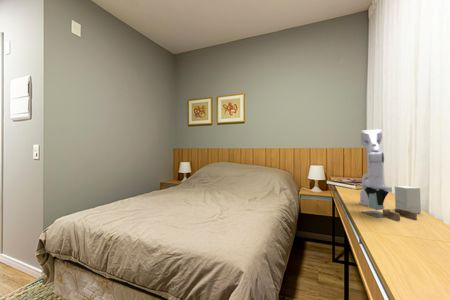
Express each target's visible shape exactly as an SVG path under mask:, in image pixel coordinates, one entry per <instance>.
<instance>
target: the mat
mask: <svg viewBox="0 0 450 300" xmlns="http://www.w3.org/2000/svg"><path fill="white" fill-rule="evenodd" d="M360 212H361V213H362V214H364V215H367V216H370V217H373V218H377V219H378V218H379V219H380V218H388V217H387V216H384V215H383V211H378V210H367V211H366V210H365V211H364V210H363V211H360Z"/></svg>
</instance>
